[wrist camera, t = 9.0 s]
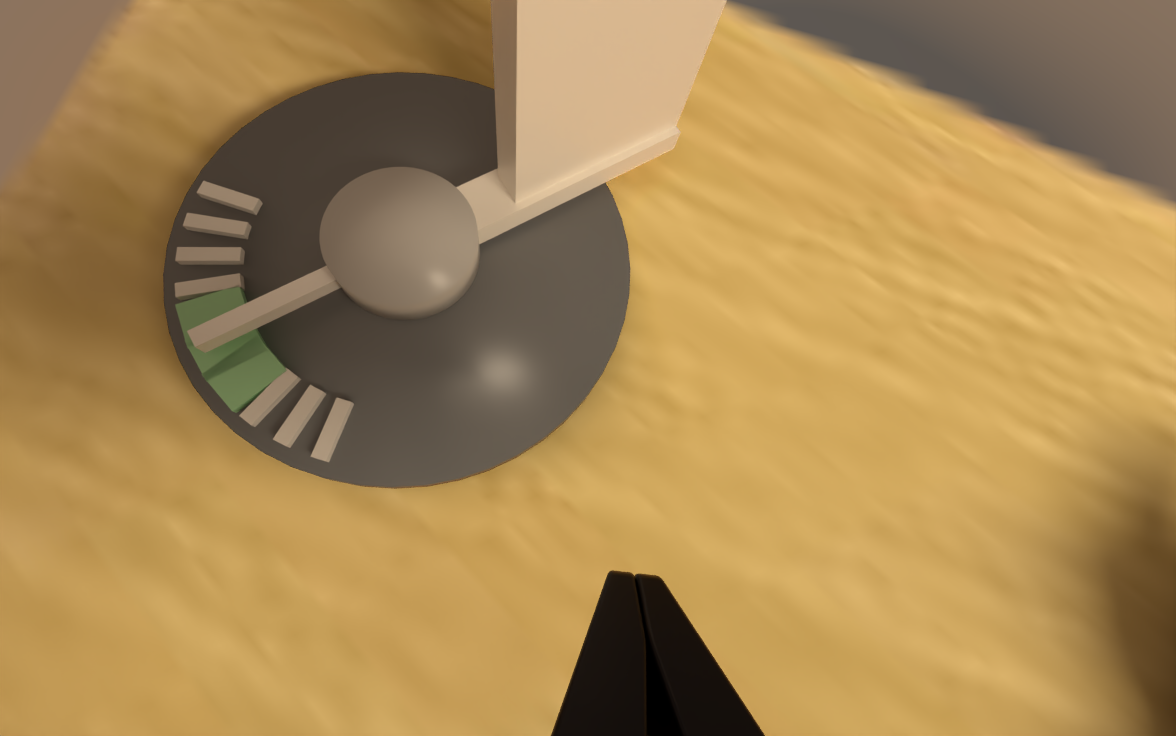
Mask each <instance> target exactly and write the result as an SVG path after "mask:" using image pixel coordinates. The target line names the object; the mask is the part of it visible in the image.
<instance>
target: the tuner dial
mask: <svg viewBox="0 0 1176 736" xmlns="http://www.w3.org/2000/svg"><path fill="white" fill-rule="evenodd" d="M389 167H411V168H417V169H422V170H425V171H428V172H431V173H434V174H436V175H438V176H440V177H442V178H444V179H445V180H447V181H449V182H450V183H451V184H452V185H454V186H455V187H458V186H460V185H462V184H464V183H467V182H469V181H471V180H473V179H475V178H478V177H480V176H482V175H484V174H486V173H488V172H491V171H493V170H495V169H497V168H498V159H497V136H496V112H495V90H494V89H491V88H489V87H486V86H483V85H480V84H478V83H474V82H470V81H465V80H461V79H457V78H453V77H447V76H440V75H433V74H426V73H398V72H397V73H383V74H370V75H364V76H359V77H353V78H347V79H342V80H339V81H335V82H332V83H328V84H325V85H322V86H318V87H315V88H312V89H310V90H308V91H305V92H303V93H300V94H298V95H296V96H293V97H291V98H289V99H287V100H285V101H283V102H281V103H280V104H278V105H276V106H274V107H272V108H271V109H269V110H267V111H265V112H264V113H262V114H261V115H259V116H258V117H257V118H255V119H254V120H252V121H251V122H250V123H248V124H247V125H245V126H244V127H243V128H241V129H240V130H239V131H238V132H237V133H236V134H235V135H234V136H233V137H231V138H230V139H229V140H228V141H227V142H226V143H225V144H224V145H223V146H222V147H221V148H220V149H219V150H218V151H217V152H216V154H215V155H214V156H213V157H212V158H211V159H210V161H209V162H208V163H207V164H206V165H205V167H204V168H203V169H202V170H201V172H200V173H199V175H198V177H197V178H196V180H195V181H194V183H193V184H192V186H191V188H190V189H189V191H188V192H187V194H186V196H185V198H184V201H183V203H182V205H181V207H180V209H179V212H178V214H177V216H176V218H175V221H174V225H173V228H172V231H171V235H170V238H169V242H168V245H167V251H166V259H165V266H164V274H163V280H164V306H165V311H166V317H167V322H168V328H169V333H170V336H171V338H172V341H173V344H174V347H175V350H176V352H177V355H178V358H179V361H180V362H181V364H182V366H183V368H184V370H185V372H186V373H187V375H188V377H189V379H190V381H191V383H192V384H193V386H194V388H195V389H196V390H197V392H198V393H199V394H200V395H201V397H202V398H203V399H204V401H205V402H206V403H207V405H208V406H209V407H210V408H211V410H212V411H213V412H214V413H215V414H216V415H217V416H218V417H219V418H220V419H221V420H222V421H223V422H224V423H226V424H227V425H228V426H229V427H230V428H231V429H232V430H233V431H234V432H235V433H236V434H238V435H239V436H240V437H242V438H243V439H245V440H246V441H247V442H249V443H250V444H252V445H253V446H255V447H256V448H257V449H259V450H260V451H262V452H263V453H265V454H267V455H269V456H271V457H273V458H275V459H277V460H279V461H281V462H283V463H285V464H287V465H289V466H291V467H293V468H296V469H299V470H302V471H305V472H308V473H311V474H314V475H317V476H320V477H322V478H326V479H329V480H334V481H339V482H344V483H349V484H354V485H359V486H365V487H380V488H411V487H427V486H432V485H438V484H443V483H448V482H453V481H458V480H462V479H465V478H468V477H471V476H474V475H477V474H480V473H483V472H486V471H489V470H491V469H493V468H495V467H497V466H500V465H502V464H504V463H506V462H508V461H510V460H512V459H514V458H516V457H518V456H520V455H521V454H523V453H524V452H526V451H527V450H529V449H530V448H532V447H534V446H535V445H537V444H538V443H540V442H541V441H543V440H544V439H545V438H546V437H548V436H549V435H550V434H551V433H552V432H553V431H555V430H556V429H557V428H558V427H559V426H560V425H562V424H563V423H564V422H565V421H566V420H567V419H568V418H569V417H570V416H571V414H572V413H573V412H574V411H575V410H576V409H577V408H578V407H579V406H580V405H581V403H582V402H583V401H584V400H585V399H586V397H587V396H588V394H589V393H590V391H591V390H592V388H593V387H594V385H595V384H596V382H597V381H598V380H599V378H600V376H601V375H602V373H603V371H604V369H605V367H606V365H607V363H608V361H609V359H610V357H611V355H612V353H613V351H614V349H615V347H616V344H617V341H618V338H619V335H620V332H621V329H622V326H623V323H624V320H625V315H626V309H627V304H628V298H629V286H630V262H629V252H628V243H627V239H626V235H625V230H624V226H623V222H622V218H621V216H620V213H619V211H618V208H617V206H616V203H615V201H614V198H613V195H612V194H611V192H610V190H609V188H608V186H607V185H606V183H603V184H601V185H599V186H597V187H595V188H593V189H591V190H589V191H587V192H585V193H583V194H581V195H579V196H577V197H575V198H573V199H571V200H569V201H567V202H565V203H562V204H560V205H558V206H556V207H554V208H552V209H550V210H548V211H546V212H544V213H542V214H540V215H538V216H536V217H534V218H532V219H530V220H528V221H526V222H524V223H522V224H520V225H518V226H516V227H514V228H512V229H510V230H508V231H506V232H504V233H502V234H500V235H498V236H495V237H493V238H491V239H489V240H487V241H485V242H483V243H481V244H479V245H480V262H479V267H478V271H477V274H476V276H475V279H474V281H473V282H472V284H471V286H470V288H469V289H468V290H467V292H466V293H465V294H464V295H463V296H462V297H461V298H460V299H459V300H458V301H457V302H456V303H454V304H453V305H452V306H450V307H449V308H447V309H445V310H444V311H442V312H440V313H437V314H435V315H432V316H429V317H426V318H421V319H415V320H394V319H389V318H384V317H381V316H378V315H375V314H373V313H370V312H368V311H366V310H365V309H363V308H361V307H360V306H358V305H357V304H356V303H355V302H354V301H352V300H351V299H350V298H349V297H348V295H347V294H346V293H345V292H344V290H343V289H342V288H339V289H337V290H335V291H333V292H331V293H329V294H327V295H325V296H323V297H321V298H319V299H317V300H314V301H312V302H310V303H308V304H306V305H304V306H302V307H300V308H298V309H296V310H294V311H292V312H289V313H287V314H285V315H283V316H281V317H279V318H277V319H275V320H273V321H271V322H269V323H267V324H265V325H262V326H260V327H258V328H256V329H254V330H252V331H250V332H248V333H246V334H244V335H242V336H240V337H238V338H235V339H233V340H231V341H229V342H227V343H225V344H223V345H221V346H219V347H217V348H215V349H213V350H211V351H208V352H206V353H204V352H202V351H201V350H199V349H197V348H196V347H195V346H194V344H193V342H192V340H191V338H190V336H189V334H188V332H187V331H188V330H190V329H192V328H194V327H196V326H199V325H201V324H203V323H205V322H207V321H209V320H211V319H213V318H216V317H218V316H220V315H222V314H224V313H226V312H228V311H231V310H233V309H235V308H237V307H239V306H241V305H243V304H246V303H248V302H250V301H252V300H254V299H256V298H258V297H260V296H263V295H265V294H267V293H269V292H271V291H273V290H275V289H278V288H280V287H282V286H284V285H286V284H288V283H290V282H293V281H295V280H297V279H299V278H301V277H303V276H305V275H307V274H310V273H312V272H314V271H316V270H318V269H320V268H322V267H325V266H327V265H326V263H325V261H324V259H323V256H322V252H321V248H320V241H319V238H320V226H321V221H322V218H323V215H324V213H325V211H326V209H327V207H328V205H329V203H330V202H331V200H332V199H333V197H334V196H335V195H336V194H337V193H338V192H339V191H340V190H341V189H342V188H343V187H344V186H345V185H347V184H348V183H350V182H351V181H353V180H354V179H356V178H358V177H360V176H361V175H363V174H366V173H369V172H371V171H374V170H378V169H382V168H389Z"/></svg>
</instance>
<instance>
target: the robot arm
mask: <svg viewBox="0 0 1176 736" xmlns="http://www.w3.org/2000/svg"><path fill="white" fill-rule="evenodd" d="M551 736H765V735H764V733H763V732H762V730H761V729H760V727H759V726H758V724H757V723H756V721H755V720H754V718H753V716H752V715H751V713H750V712H749V710H748V709H747V707H746V706H745V704H744V703H743V701H742V700H741V698H740V697H739V695H738V694H737V692H736V691H735V689H734V688H733V686H732V685H731V683H730V681H729V680H728V678H727V677H726V675H725V674H724V672H723V671H722V669H721V668H720V666H719V665H718V663H717V662H716V660H715V659H714V657H713V656H712V654H711V653H710V651H709V650H708V648H707V647H706V645H705V643H704V642H703V640H702V639H701V637H700V636H699V634H698V633H697V631H696V630H695V628H694V627H693V625H692V624H691V622H690V621H689V619H688V618H687V616H686V615H685V613H684V612H683V610H682V608H681V607H680V605H679V604H678V602H677V601H676V599H675V598H674V596H673V595H672V593H671V592H670V590H669V589H668V587H667V586H666V584H665V583H664V581H663V580H662V579H661V578H660V577H659V576H656V575H647V574H636V575H635V576H634V575H633V574H632V573H630V572H621V571H610V572H609V573H608V575H607V578H606V580H605V583H604V586H603V589H602V592H601V595H600V598H599V600H598V603H597V606H596V609H595V612H594V615H593V617H592V620H591V623H590V626H589V629H588V632H587V635H586V637H585V640H584V643H583V646H582V649H581V652H580V655H579V657H578V660H577V663H576V666H575V669H574V672H573V674H572V677H571V680H570V683H569V686H568V689H567V692H566V694H565V697H564V700H563V703H562V706H561V709H560V712H559V714H558V717H557V720H556V723H555V726H554V729H553V731H552V734H551Z"/></svg>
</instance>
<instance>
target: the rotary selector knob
mask: <svg viewBox="0 0 1176 736" xmlns="http://www.w3.org/2000/svg"><path fill="white" fill-rule="evenodd" d="M726 1H727V0H491V17H492V41H493V65H494V88H495V112H496V136H497V159H498V168H497V169H495V170H493V171H491V172H488V173H486V174H484V175H482V176H480V177H478V178H475V179H473V180H471V181H469V182H467V183H464V184H462V185H460V186H458V187H455V186H454V185H452V184H451V183H450V182H449V181H447V180H445V179H444V178H442V177H440V176H438V175H436V174H434V173H431V172H428V171H425V170H422V169H417V168H411V167H389V168H382V169H378V170H374V171H371V172H369V173H366V174H363V175H361V176H360V177H358V178H356V179H354V180H353V181H351V182H350V183H348V184H347V185H345V186H344V187H343V188H342V189H341V190H340V191H339V192H338V193H337V194H336V195H335V196H334V197H333V199H332V200H331V202H330V203H329V205H328V207H327V209H326V211H325V213H324V215H323V218H322V221H321V226H320V238H319V241H320V248H321V252H322V256H323V259H324V261H325V263H326V265H327V266H325V267H322V268H320V269H318V270H316V271H314V272H312V273H310V274H307V275H305V276H303V277H301V278H299V279H297V280H295V281H293V282H290V283H288V284H286V285H284V286H282V287H280V288H278V289H275V290H273V291H271V292H269V293H267V294H265V295H263V296H260V297H258V298H256V299H254V300H252V301H250V302H248V303H246V304H243V305H241V306H239V307H237V308H235V309H233V310H231V311H228V312H226V313H224V314H222V315H220V316H218V317H216V318H213V319H211V320H209V321H207V322H205V323H203V324H201V325H199V326H196V327H194V328H192V329H190V330H188V331H187V332H188V334H189V336H190V338H191V340H192V342H193V344H194V346H195V347H196V348H197V349H199V350H201V351H202V352H204V353H206V352H208V351H211V350H213V349H215V348H217V347H219V346H221V345H223V344H225V343H227V342H229V341H231V340H233V339H235V338H238V337H240V336H242V335H244V334H246V333H248V332H250V331H252V330H254V329H256V328H258V327H260V326H262V325H265V324H267V323H269V322H271V321H273V320H275V319H277V318H279V317H281V316H283V315H285V314H287V313H289V312H292V311H294V310H296V309H298V308H300V307H302V306H304V305H306V304H308V303H310V302H312V301H314V300H317V299H319V298H321V297H323V296H325V295H327V294H329V293H331V292H333V291H335V290H337V289H339V288H342V289H343V290H344V292H345V293H346V294H347V295H348V297H349V298H350V299H351V300H352V301H354V302H355V303H356V304H357V305H358V306H360V307H361V308H363V309H365V310H366V311H368V312H370V313H373V314H375V315H378V316H381V317H384V318H389V319H394V320H415V319H421V318H426V317H429V316H432V315H435V314H437V313H440V312H442V311H444V310H445V309H447V308H449V307H450V306H452V305H453V304H454V303H456V302H457V301H458V300H459V299H460V298H461V297H462V296H463V295H464V294H465V293H466V292H467V290H468V289H469V288H470V286H471V284H472V282H473V281H474V279H475V276H476V274H477V271H478V267H479V262H480V245H479V244H481V243H483V242H485V241H487V240H489V239H491V238H493V237H495V236H498V235H500V234H502V233H504V232H506V231H508V230H510V229H512V228H514V227H516V226H518V225H520V224H522V223H524V222H526V221H528V220H530V219H532V218H534V217H536V216H538V215H540V214H542V213H544V212H546V211H548V210H550V209H552V208H554V207H556V206H558V205H560V204H562V203H565V202H567V201H569V200H571V199H573V198H575V197H577V196H579V195H581V194H583V193H585V192H587V191H589V190H591V189H593V188H595V187H597V186H599V185H601V184H603V183H605V182H607V181H609V180H611V179H613V178H615V177H617V176H619V175H621V174H623V173H625V172H627V171H630V170H632V169H634V168H636V167H638V166H640V165H642V164H644V163H646V162H648V161H650V160H652V159H654V158H656V157H658V156H660V155H662V154H664V153H666V152H668V151H670V150H672V149H674V147H675V144H676V142H677V139H678V137H679V135H680V130H679V129H678V128H677V126H676V125H677V123H678V120H679V118H680V115H681V113H682V110H683V108H684V105H685V103H686V100H687V98H688V95H689V93H690V90H691V88H692V85H693V83H694V80H695V78H696V75H697V73H698V70H699V68H700V65H701V63H702V60H703V58H704V55H705V53H706V50H707V48H708V45H709V43H710V40H711V38H712V35H713V33H714V30H715V28H716V25H717V23H718V21H719V18H720V16H721V13H722V11H723V8H724V6H725V3H726Z"/></svg>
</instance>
